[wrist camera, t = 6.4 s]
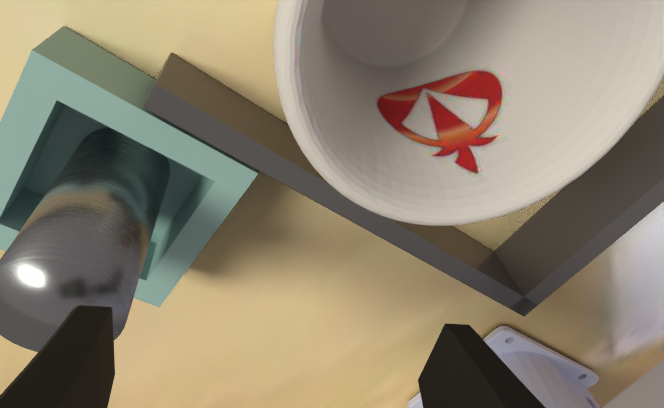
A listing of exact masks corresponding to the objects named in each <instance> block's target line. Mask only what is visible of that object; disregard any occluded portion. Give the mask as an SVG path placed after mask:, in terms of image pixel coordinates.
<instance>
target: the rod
mask: <svg viewBox="0 0 664 408" xmlns="http://www.w3.org/2000/svg"><path fill="white" fill-rule="evenodd" d="M169 176H170V168H169V163H168V160H167V158H166V156H164V155H163V154H161V153H159V152H157V151H155V150H153V149H151V148H149V147H147V146H145V145H143V144H141V143H139V142H137V141H135V140H133V139H131V138H129V137H128V136H126V135H124V134H122V133H120V132H118V131H116V130H114V129H112V128H110V127H108V128H103V129H99V130H96V131H94V132H92V133H90V134H89V135H88V136H86V137H85V138H84V139H83V140H82V141H81V143H80V144H79V146H78V147H77V149H76V150H75V152H74V153H73V155H72V156H71V157H70V159H69V160H68V162H67V163H66V165H65V166H64V168H63V169H62V171H61V172H60V173H59V175H58V176H57V178H56V179H55V181H54V182H53V184H52V185H51V187H50V188H49V190H48V191H47V192H46V194H45V195H44V197H43V198H42V200H41V201H40V203H39V204H38V206H37V207H36V209H35V210H34V211H33V213H32V214H31V216H30V217H29V219H28V220H27V222H26V223H25V225H24V226H23V227H22V229H21V230H20V232H19V233H18V235H17V236H16V238H15V239H14V241H13V242H12V244H11V245H10V246H9V248H8V249H7V251H6V252H5V254H4V255H3V257H2V258H1V260H0V335H1V336H3V337H4V338H6V339H7V340H9V341H11V342H13V343H14V344H17V345H19V346H21V347H24V348H27V349H29V350H33V351H37V352H39V351H40V350H41V349H42V347H43V346H44V345H45V344H46V343H47V341H48V340H49V339H50V338H51V336H52V335H53V334H54V333H55V332H56V330H57V329H58V328H59V326H60V325H61V324H62V323H63V321H64V320H65V319H66V317H67V316H68V315H69V313H70V312H71V311H72V310H73V309H74V308H75V307H77V306H78V305H84V306H104V307H112V316H113V340H115V339H116V338H117V337H118V336H119V335H120V334H121V332H122V330H123V329H124V326H125V324H126V320H127V317H128V314H129V311H130V307H131V304H132V301H133V297H134V294H135V291H136V287H137V284H138V281H139V277H140V274H141V271H142V267H143V264H144V261H145V257H146V254H147V251H148V247H149V244H150V241H151V237H152V234H153V231H154V227H155V224H156V221H157V218H158V214H159V211H160V208H161V204H162V201H163V198H164V194H165V191H166V188H167V184H168V181H169Z"/></svg>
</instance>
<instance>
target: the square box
mask: <svg viewBox="0 0 664 408" xmlns="http://www.w3.org/2000/svg"><path fill="white" fill-rule="evenodd" d="M155 81H156V79H154V78H152V77H151V76H149V75H147V74H145V73H144V72H142V71H140V70H139V69H137V68H135V67H133V66H132V65H130V64H128V63H127V62H125V61H123V60H121V59H120V58H118V57H116V56H115V55H113V54H111V53H109V52H108V51H106V50H104V49H103V48H101V47H99V46H97V45H96V44H94V43H92V42H91V41H89V40H87V39H85V38H84V37H82V36H80V35H79V34H77V33H75V32H73V31H72V30H70V29H68V28H67V27H65V26H63V27H62V28H60V29H59V30H58V31H56V32H55V33H54V34H52V35H51V36H50V37H49V38H47V39H46V40H45V41H43V42H42V43H41V44H39V45H38V46H37V47H35V48H34V49H33V50H32V51H31V53H30V56H29V58H28V60H27V63H26V65H25V67H24V69H23V72H22V74H21V76H20V79H19V81H18V83H17V85H16V88H15V90H14V92H13V95H12V97H11V99H10V101H9V104H8V106H7V108H6V111H5V113H4V115H3V117H2V120H1V122H0V249H2V250H5V251H7V249H8V248H9V246H10V245H11V244H12V242H13V241H14V239H15V238H16V236H17V235H18V233H19V232H20V230H21V229H22V227H23V226H24V225H25V223H26V222H27V220H28V219H29V217H30V216H31V214H32V213H33V211H34V210H35V209H36V207H37V206H38V204H39V203H40V201H41V200H42V198H43V197H44V195H45V194H46V192H47V191H48V190H49V188H50V187H51V185H52V184H53V182H54V181H55V179H56V178H57V176H58V175H59V173H60V172H61V171H62V169H63V168H64V166H65V165H66V163H67V162H68V160H69V159H70V157H71V156H72V155H73V153H74V152H75V150H76V149H77V147H78V146H79V144H80V143H81V141H82V140H83V139H84V138H85V137H86V136H88V135H89V134H90V133H92V132H94V131H96V130H99V129H103V128H108V127H110V128H112V129H114V130H116V131H118V132H120V133H122V134H124V135H126V136H128V137H129V138H131V139H133V140H135V141H137V142H139V143H141V144H143V145H145V146H147V147H149V148H151V149H153V150H155V151H157V152H159V153H161V154H163V155H164V156H166V158H167V160H168V163H169V168H170V176H169V181H168V184H167V188H166V191H165V194H164V198H163V201H162V204H161V208H160V211H159V214H158V218H157V221H156V224H155V227H154V231H153V234H152V237H151V241H150V244H149V247H148V251H147V254H146V257H145V261H144V264H143V267H142V271H141V274H140V277H139V281H138V284H137V287H136V291H135V294H134V297H133V298H135V299H138V300H141V301H144V302H146V303H149V304H152V305H155V306H157V307H160V306H161V305H162V303H163V302H164V300H165V299H166V298H167V296H168V295H169V294H170V292H171V291H172V290H173V288H174V287H175V286H176V284H177V283H178V282H179V280H180V279H181V277H182V276H183V275H184V273H185V272H186V271H187V269H188V268H189V267H190V265H191V264H192V263H193V261H194V260H195V259H196V257H197V256H198V254H199V253H200V252H201V250H202V249H203V248H204V246H205V245H206V244H207V242H208V241H209V240H210V238H211V237H212V236H213V234H214V233H215V231H216V230H217V229H218V227H219V226H220V225H221V223H222V222H223V221H224V219H225V218H226V217H227V215H228V214H229V213H230V211H231V210H232V209H233V207H234V206H235V204H236V203H237V202H238V200H239V199H240V198H241V196H242V195H243V194H244V192H245V191H246V190H247V188H248V187H249V186H250V184H251V183H252V181H253V180H254V179H255V177H256V176H257V175H258V170H257V169H255V168H253V167H252V166H250V165H248V164H246V163H244V162H242V161H241V160H239V159H237V158H235V157H233V156H232V155H230V154H228V153H226V152H224V151H222V150H221V149H219V148H217V147H215V146H213V145H212V144H210V143H208V142H206V141H204V140H202V139H201V138H199V137H197V136H195V135H193V134H192V133H190V132H188V131H186V130H184V129H182V128H181V127H179V126H177V125H175V124H173V123H172V122H170V121H168V120H166V119H164V118H162V117H161V116H159V115H157V114H155V113H153V112H152V111H150V110H148V109H146V108H144V107H143V106H144V104H145V102H146V100H147V98H148V96H149V94H150V91H151V89H152V87H153V85H154V83H155Z"/></svg>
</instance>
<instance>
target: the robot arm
mask: <svg viewBox="0 0 664 408" xmlns="http://www.w3.org/2000/svg"><path fill="white" fill-rule="evenodd" d="M114 375H115V365H114V340H113V316H112V307H104V306H84V305H78V306H77V307H75V308H74V309H73V310H72V311H71V312H70V313H69V315H68V316H67V317H66V319H65V320H64V321H63V323H62V324H61V325H60V326H59V328H58V329H57V330H56V332H55V333H54V334H53V335H52V336H51V338H50V339H49V340H48V341H47V343H46V344H45V345H44V346H43V347H42V349H41V350H40V351H39V352H38V353H37V354H36V356H35V357H34V358H33V359H32V360H31V362H30V363H29V364H28V365H27V366H26V367H25V368H24V370H23V371H22V372H21V373H20V374H19V375H18V376H17V377H16V378H15V380H14V381H13V382H12V383H11V384H10V385H9V386H8V387H7V388H6V390H5V391H4V392H3V393H2V394H1V395H0V408H107V406H108V402H109V398H110V393H111V389H112V384H113V380H114ZM598 380H599V377H598V375H597V374H596V373H595V372H594V371H592V370H590V369H588V368H586V367H584V366H582V365H580V364H578V363H577V362H575V361H573V360H571V359H569V358H567V357H565V356H563V355H561V354H559V353H557V352H555V351H554V350H552V349H550V348H548V347H546V346H544V345H542V344H540V343H538V342H536V341H534V340H532V339H531V338H529V337H527V336H525V335H523V334H521V333H519V332H517V331H515V330H513V329H511V328H510V327H507V326H500V327H497V328H496V329H495V330H493V331H492V332H491V333H490V334H489V335H487V336H486V337H485V338H484V339H482V338H481V337H480V336H479V335H478V334H477V333H476V332H475V331H474V330H473V329H472V328H471V327H470V326H469V325H461V324H445V325H444V327H443V329H442V331H441V333H440V335H439V338H438V340H437V342H436V344H435V346H434V348H433V350H432V352H431V354H430V356H429V358H428V360H427V363H426V365H425V367H424V369H423V371H422V373H421V375H420V377H419V379H418V382H419V388H420V392H419V393H418V394H417V395H416V396H414V397H413V398H412V399H411V400H410V401H409V402H408V403H407V407H408V408H600V406H599V405H598V403H597V402H596V400H595V399H594V397H593V396H592V394H591V393H590V391H589V390H588V389H589V388H590V387H592V386H593V385H594V384H596V383H597V382H598Z"/></svg>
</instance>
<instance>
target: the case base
mask: <svg viewBox="0 0 664 408" xmlns="http://www.w3.org/2000/svg"><path fill="white" fill-rule="evenodd" d="M143 107H144V108H146V109H148V110H150V111H152V112H153V113H155V114H157V115H159V116H161V117H162V118H164V119H166V120H168V121H170V122H172V123H173V124H175V125H177V126H179V127H181V128H182V129H184V130H186V131H188V132H190V133H192V134H193V135H195V136H197V137H199V138H201V139H202V140H204V141H206V142H208V143H210V144H212V145H213V146H215V147H217V148H219V149H221V150H222V151H224V152H226V153H228V154H230V155H232V156H233V157H235V158H237V159H239V160H241V161H242V162H244V163H246V164H248V165H250V166H252V167H253V168H255V169H257V170H259V171H261V172H262V173H264V174H266V175H268V176H270V177H272V178H273V179H275V180H277V181H279V182H281V183H282V184H284V185H286V186H288V187H290V188H292V189H293V190H295V191H297V192H299V193H301V194H302V195H304V196H306V197H308V198H310V199H312V200H313V201H315V202H317V203H319V204H321V205H322V206H324V207H326V208H328V209H330V210H332V211H333V212H335V213H337V214H339V215H341V216H342V217H344V218H346V219H348V220H350V221H352V222H353V223H355V224H357V225H359V226H361V227H362V228H364V229H366V230H368V231H370V232H372V233H373V234H375V235H377V236H379V237H381V238H382V239H384V240H386V241H388V242H390V243H391V244H393V245H395V246H397V247H399V248H401V249H402V250H404V251H406V252H408V253H410V254H411V255H413V256H415V257H417V258H419V259H421V260H422V261H424V262H426V263H428V264H430V265H431V266H433V267H435V268H437V269H439V270H441V271H442V272H444V273H446V274H448V275H450V276H451V277H453V278H455V279H457V280H459V281H461V282H462V283H464V284H466V285H468V286H470V287H471V288H473V289H475V290H477V291H479V292H481V293H482V294H484V295H486V296H488V297H490V298H491V299H493V300H495V301H497V302H499V303H501V304H502V305H504V306H506V307H508V308H510V309H511V310H513V311H515V312H517V313H519V314H521V315H522V316H525V315H526V314H528V313H529V312H530V311H531V310H532V309H534V308H535V307H536V306H537V305H538V304H540V303H541V302H542V301H543V300H545V299H546V298H547V297H548V296H549V295H551V294H552V293H553V292H554V291H555V290H557V289H558V288H559V287H560V286H562V285H563V284H564V283H565V282H566V281H568V280H569V279H570V278H571V277H572V276H574V275H575V274H576V273H577V272H579V271H580V270H581V269H582V268H583V267H585V266H586V265H587V264H588V263H589V262H591V261H592V260H593V259H594V258H595V257H597V256H598V255H599V254H600V253H602V252H603V251H604V250H605V249H606V248H608V247H609V246H610V245H611V244H612V243H614V242H615V241H616V240H617V239H619V238H620V237H621V236H622V235H623V234H625V233H626V232H627V231H628V230H629V229H631V228H632V227H633V226H634V225H636V224H637V223H638V222H639V221H640V220H642V219H643V218H644V217H645V216H646V215H648V214H649V213H650V212H651V211H653V210H654V209H655V208H656V207H657V206H659V205H660V204H661V203H662V202H663V201H664V96H663V97H662V98H661V99H660V100H659V101H657V102H656V103H655V104H654V105H653V106H652V107H651V108H650V109H649V110H648V111H647V112H646V113H644V114H643V115H642V116H641V117H640V118H639V119H638V120H637V121H636V122H635V123H634V124H633V125H632V126H631V127H630V128H629V129H628V131H627V132H626V133H625V134H624V135H623V136H622V137H621V138H620V140H619V141H618V142H617V143H616V144H615V145H614V146H613V147H612V148H611V149H610V150H609V151H608V153H606V154H605V155H604V156H603V157H602V158H601V159H600V160H598V161H597V162H596V163H595V164H594V165H593V166H591V167H590V168H589V169H588V170H587V171H585V172H584V173H583V174H582V175H581V176H579V177H578V178H577V179H575V180H573V181H572V182H570V183H569V184H567V185H566V186H565V187H564V188H563V189H562V190H561V191H560V192H559V193H558V194H557V195H555V196H554V197H553V198H552V199H551V200H550V201H549V202H548V203H547V204H546V205H545V206H543V207H542V208H541V209H540V210H539V211H538V212H537V213H536V214H535V215H534V216H533V217H532V218H530V219H529V220H528V221H527V222H526V223H525V224H524V225H523V226H522V227H521V228H520V229H518V230H517V231H516V232H515V233H514V234H513V235H512V236H511V237H510V238H509V239H508V240H507V241H505V242H504V243H503V244H502V245H501V246H500V247H499V248H498V249H497V250H496V251H495V252H493V251H492V250H490V249H489V248H487V247H485V246H484V245H482V244H480V243H479V242H477V241H476V240H474V239H472V238H471V237H469V236H468V235H466V234H464V233H463V232H461V231H459V230H458V229H456V228H455V227H453V226H429V225H419V224H412V223H407V222H402V221H397V220H394V219H391V218H387V217H384V216H381V215H379V214H376V213H374V212H372V211H369V210H367V209H366V208H364V207H362V206H360V205H358V204H356V203H354V202H353V201H351V200H350V199H348V198H347V197H345V196H344V195H342V194H341V193H340V192H338V191H337V190H336V189H335V188H334V187H332V186H331V185H330V184H329V183H328V182H327V181H326V180H325V179H324V178H323V177H322V176H321V175H320V174H319V173H318V171H317V170H316V169H315V168H314V167H313V166H312V164H311V163H310V162H309V160H308V159H307V157H306V156H305V155H304V153H303V152H302V150H301V148H300V147H299V145H298V143H297V141H296V140H295V138H294V136H293V134H292V131H291V129H290V127H289V125H288V124H286V123H285V122H283V121H281V120H280V119H278V118H276V117H275V116H273V115H272V114H270V113H268V112H267V111H265V110H264V109H262V108H260V107H259V106H257V105H255V104H254V103H252V102H251V101H249V100H247V99H246V98H244V97H242V96H241V95H239V94H238V93H236V92H234V91H233V90H231V89H230V88H228V87H226V86H225V85H223V84H221V83H220V82H218V81H217V80H215V79H213V78H212V77H210V76H208V75H207V74H205V73H204V72H202V71H200V70H199V69H197V68H196V67H194V66H192V65H191V64H189V63H187V62H186V61H184V60H183V59H181V58H179V57H178V56H176V55H174V54H173V53H171V54H170V55H169V57H168V59H167V61H166V62H165V64H164V66H163V68H162V69H161V71H160V73H159V75H158V77H157V79H156V81H155V83H154V85H153V87H152V89H151V91H150V94H149V96H148V98H147V100H146V102H145V104H144V106H143Z"/></svg>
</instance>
